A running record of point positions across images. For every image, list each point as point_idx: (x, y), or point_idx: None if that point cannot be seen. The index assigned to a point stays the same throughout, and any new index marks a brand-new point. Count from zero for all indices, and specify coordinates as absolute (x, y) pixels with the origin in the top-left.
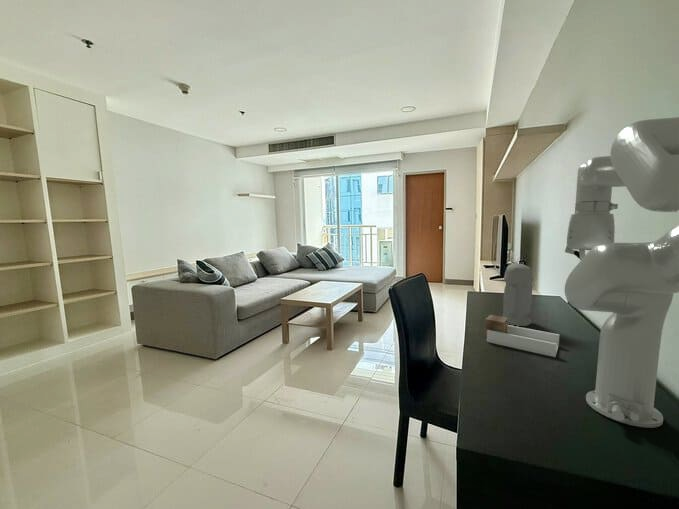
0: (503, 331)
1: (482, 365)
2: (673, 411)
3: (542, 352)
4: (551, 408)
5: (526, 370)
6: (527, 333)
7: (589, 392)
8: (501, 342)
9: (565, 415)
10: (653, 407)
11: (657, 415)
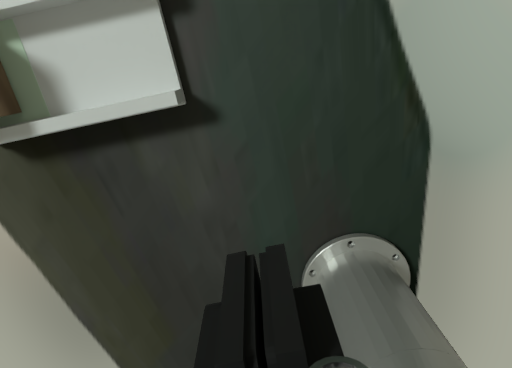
0: (1, 112)
1: (101, 299)
2: (424, 214)
3: (151, 110)
4: None
5: (175, 250)
6: (43, 5)
7: (305, 279)
8: (35, 136)
9: None
10: (399, 253)
11: (403, 279)
